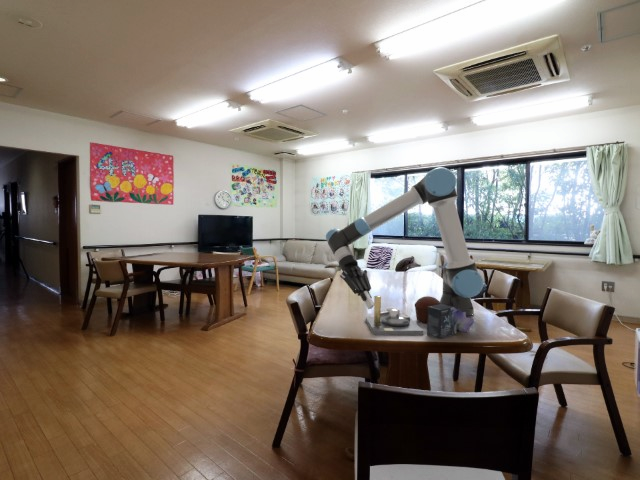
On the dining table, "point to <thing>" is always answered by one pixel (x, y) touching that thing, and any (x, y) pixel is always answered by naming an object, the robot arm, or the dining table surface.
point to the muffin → (424, 308)
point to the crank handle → (388, 315)
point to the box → (440, 321)
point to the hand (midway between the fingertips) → (371, 306)
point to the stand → (394, 328)
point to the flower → (461, 321)
